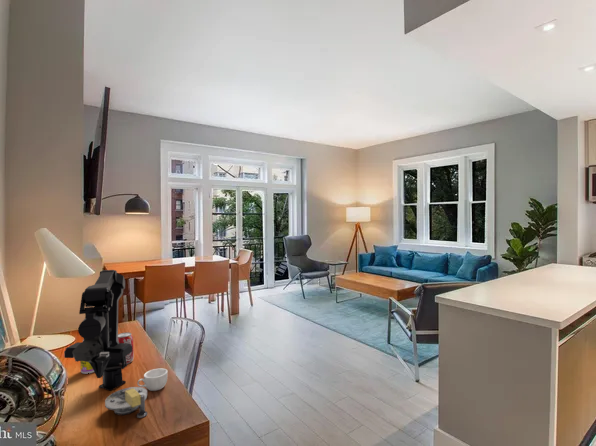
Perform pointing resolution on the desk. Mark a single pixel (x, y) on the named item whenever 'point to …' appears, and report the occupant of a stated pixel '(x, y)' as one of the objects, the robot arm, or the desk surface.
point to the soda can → (127, 339)
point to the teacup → (154, 379)
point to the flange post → (126, 411)
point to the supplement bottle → (86, 367)
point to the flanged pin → (142, 407)
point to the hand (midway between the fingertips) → (99, 377)
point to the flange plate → (121, 402)
